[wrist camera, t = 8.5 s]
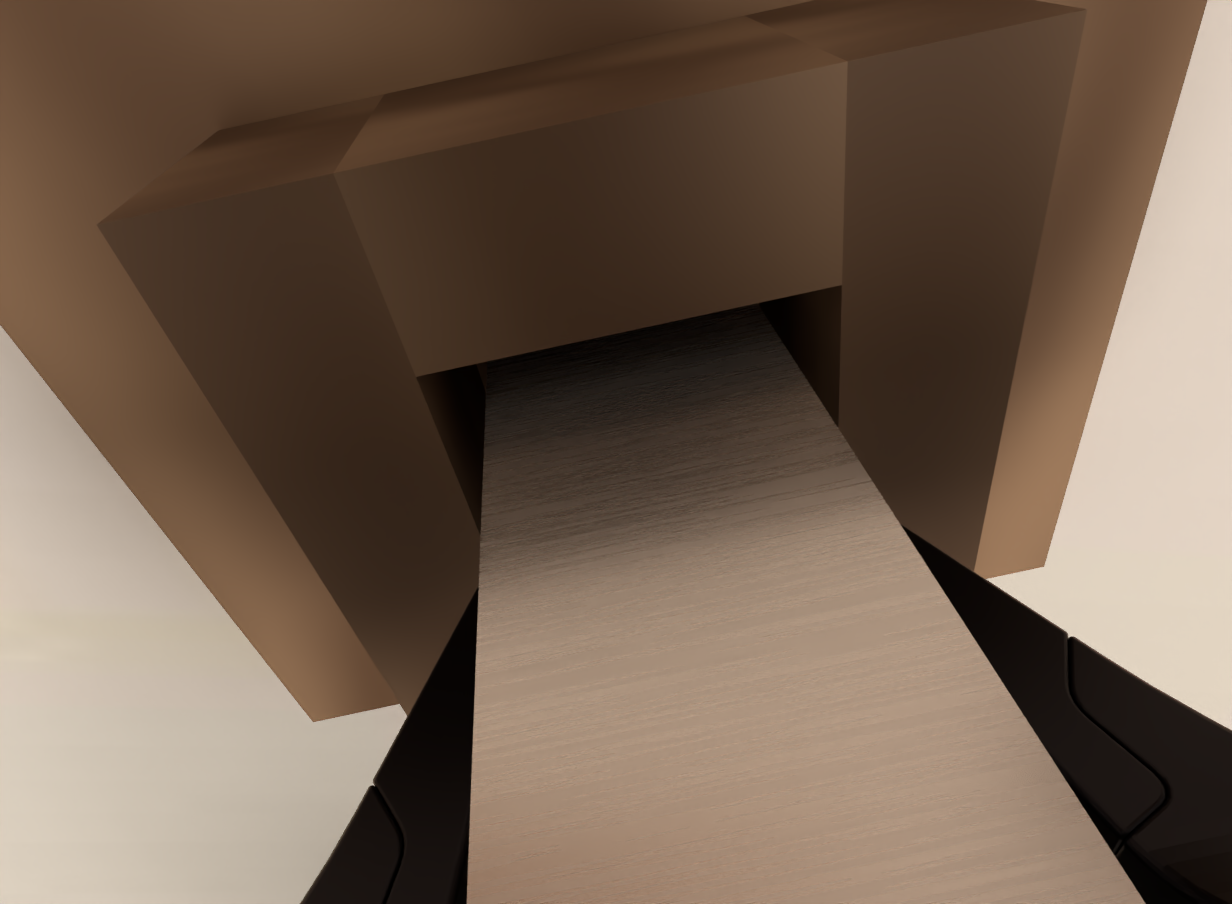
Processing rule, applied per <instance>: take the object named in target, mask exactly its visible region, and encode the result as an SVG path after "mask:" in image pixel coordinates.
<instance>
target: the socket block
mask: <svg viewBox="0 0 1232 904" xmlns="http://www.w3.org/2000/svg"><path fill="white" fill-rule="evenodd" d="M1206 3H1207V0H0V325H1V326H2V327H3V329H4V330H5V331H6V333H7V334H8V335H9V336H10V338H11V339H12V340H13V341H14V343H15V344H16V345H17V346H18V348H19V349H20V350H21V352H22V353H23V354H24V355H25V357H26V358H27V359H28V360H29V362H30V363H31V364H32V366H33V367H34V368H35V369H36V371H37V372H38V373H39V374H40V376H41V377H42V378H43V380H44V381H45V382H46V383H47V385H48V386H49V387H50V388H51V390H52V391H53V392H54V393H55V395H56V396H57V397H58V399H59V400H60V401H61V402H62V404H63V405H64V406H65V407H66V409H67V410H68V411H69V413H70V414H71V415H72V416H73V418H74V419H75V420H76V421H77V423H78V424H79V425H80V427H81V428H82V429H83V430H84V432H85V433H86V434H87V435H88V437H89V438H90V439H91V440H92V442H93V443H94V444H95V446H96V447H97V448H98V449H99V451H100V452H101V453H102V454H103V456H104V457H105V458H106V460H107V461H108V462H109V463H110V465H111V466H112V467H113V468H114V470H115V471H116V472H117V474H118V475H119V476H120V477H121V479H122V480H123V481H124V482H125V484H126V485H127V486H128V487H129V489H130V490H131V491H132V493H133V494H134V495H135V496H136V498H137V499H138V500H139V501H140V503H141V504H142V505H143V507H144V508H145V509H146V510H147V512H148V513H149V514H150V515H151V517H152V518H153V519H154V521H155V522H156V523H157V524H158V526H159V527H160V528H161V529H162V531H163V532H164V533H165V534H166V536H167V537H168V538H169V540H170V541H171V542H172V543H173V545H174V546H175V547H176V548H177V550H178V551H179V552H180V554H181V555H182V556H183V557H184V559H185V560H186V561H187V562H188V564H189V565H190V566H191V568H192V569H193V570H194V571H195V573H196V574H197V575H198V576H199V578H200V579H201V580H202V581H203V583H204V584H205V585H206V587H207V588H208V589H209V590H210V592H211V593H212V594H213V595H214V597H215V598H216V599H217V601H218V602H219V603H220V604H221V606H222V607H223V608H224V609H225V611H226V612H227V613H228V615H229V616H230V617H231V618H232V620H233V621H234V622H235V623H236V625H237V626H238V627H239V628H240V630H241V631H242V632H243V634H244V635H245V636H246V637H247V639H248V640H249V641H250V642H251V644H252V645H253V646H254V648H255V649H256V650H257V651H258V653H259V654H260V655H261V656H262V658H263V659H264V660H265V662H266V663H267V664H268V665H269V667H270V668H271V669H272V670H273V672H274V673H275V674H276V676H277V677H278V678H279V679H280V681H281V682H282V683H283V684H284V686H285V687H286V688H287V689H288V691H289V692H290V693H291V695H292V696H293V697H294V698H295V700H296V701H297V702H298V703H299V705H300V706H301V707H302V709H303V710H304V711H305V712H306V714H307V715H308V716H309V717H310V719H311V720H312V721H313V722H316V721H320V720H325V719H330V718H335V717H339V716H344V715H349V714H353V713H358V712H363V711H367V710H372V709H377V708H382V707H386V706H391V705H396V704H400V705H401V707H402V708H403V710H404V711H405V713H406V714H407V716H408V715H409V713H410V711H411V709H412V707H413V705H414V704H415V702H416V700H417V698H418V696H419V694H420V692H421V691H422V689H423V687H424V685H425V683H426V681H427V680H428V678H429V676H430V674H431V672H432V670H433V668H434V667H435V665H436V663H437V661H438V659H439V657H440V656H441V654H442V652H443V650H444V648H445V646H446V644H447V643H448V641H449V639H450V637H451V635H452V633H453V632H454V630H455V628H456V626H457V624H458V622H459V621H460V619H461V617H462V615H463V613H464V611H465V609H466V608H467V606H468V604H469V602H470V600H471V598H472V597H473V595H474V593H475V591H476V589H477V587H478V585H479V567H480V541H481V514H482V488H483V462H484V436H485V409H486V383H487V361H491V360H496V359H501V358H505V357H510V356H515V355H519V354H524V353H529V352H533V351H538V350H542V349H547V348H552V347H556V346H561V345H566V344H570V343H575V342H580V341H584V340H589V339H594V338H598V337H603V336H607V335H612V334H617V333H621V332H626V331H631V330H635V329H640V328H645V327H649V326H654V325H658V324H663V323H668V322H672V321H677V320H682V319H686V318H691V317H696V316H700V315H705V314H710V313H714V312H719V311H723V310H728V309H733V308H737V307H742V306H747V305H751V304H756V303H757V304H758V305H759V307H760V308H761V310H762V311H763V313H764V314H765V316H766V318H767V319H768V321H769V322H770V324H771V325H772V327H773V328H774V330H775V331H776V333H777V335H778V336H779V338H780V339H781V341H782V342H783V344H784V345H785V347H786V348H787V350H788V352H789V353H790V355H791V356H792V358H793V359H794V361H795V362H796V364H797V365H798V367H799V369H800V370H801V372H802V373H803V375H804V376H805V378H806V379H807V381H808V382H809V384H810V386H811V387H812V389H813V390H814V392H815V393H816V395H817V396H818V398H819V399H820V401H821V403H822V404H823V406H824V407H825V409H826V410H827V412H828V413H829V415H830V416H831V418H832V420H833V421H834V423H835V424H836V426H837V427H838V429H839V430H840V432H841V433H842V435H843V437H844V438H845V440H846V441H847V443H848V444H849V446H850V447H851V449H852V450H853V452H854V454H855V455H856V457H857V458H858V460H859V461H860V463H861V464H862V466H863V468H864V469H865V471H866V472H867V474H868V475H869V477H870V478H871V480H872V481H873V483H874V485H875V486H876V488H877V489H878V491H879V492H880V494H881V495H882V497H883V498H884V500H885V502H886V503H887V505H888V506H889V508H890V509H891V511H892V512H893V514H894V515H895V517H896V519H897V520H898V522H899V523H900V524H901V525H903V526H904V527H906V528H907V529H909V530H911V531H912V532H914V533H915V534H917V535H918V536H920V537H921V538H923V539H924V540H926V541H927V542H929V543H931V544H932V545H934V546H935V547H937V548H938V549H940V550H941V551H943V552H944V553H946V554H947V555H949V556H950V557H952V558H954V559H955V560H957V561H958V562H960V563H961V564H963V565H964V566H966V567H967V568H969V569H970V570H972V571H974V572H975V573H977V574H978V575H980V576H981V577H983V578H984V579H988V578H992V577H997V576H1002V575H1006V574H1011V573H1016V572H1020V571H1025V570H1030V569H1034V568H1039V567H1044V565H1045V561H1046V558H1047V554H1048V551H1049V547H1050V544H1051V540H1052V537H1053V533H1054V530H1055V526H1056V523H1057V519H1058V516H1059V513H1060V509H1061V506H1062V502H1063V499H1064V495H1065V492H1066V488H1067V485H1068V481H1069V478H1070V474H1071V471H1072V467H1073V464H1074V461H1075V457H1076V454H1077V450H1078V447H1079V443H1080V440H1081V436H1082V433H1083V429H1084V426H1085V422H1086V419H1087V416H1088V412H1089V409H1090V405H1091V402H1092V398H1093V395H1094V391H1095V388H1096V384H1097V381H1098V377H1099V374H1100V370H1101V367H1102V364H1103V360H1104V357H1105V353H1106V350H1107V346H1108V343H1109V339H1110V336H1111V332H1112V329H1113V325H1114V322H1115V318H1116V315H1117V312H1118V308H1119V305H1120V301H1121V298H1122V294H1123V291H1124V287H1125V284H1126V280H1127V277H1128V273H1129V270H1130V267H1131V263H1132V260H1133V256H1134V253H1135V249H1136V246H1137V242H1138V239H1139V235H1140V232H1141V228H1142V225H1143V221H1144V218H1145V215H1146V211H1147V208H1148V204H1149V201H1150V197H1151V194H1152V190H1153V187H1154V183H1155V180H1156V176H1157V173H1158V170H1159V166H1160V163H1161V159H1162V156H1163V152H1164V149H1165V145H1166V142H1167V138H1168V135H1169V131H1170V128H1171V124H1172V121H1173V118H1174V114H1175V111H1176V107H1177V104H1178V100H1179V97H1180V93H1181V90H1182V86H1183V83H1184V79H1185V76H1186V72H1187V69H1188V66H1189V62H1190V59H1191V55H1192V52H1193V48H1194V45H1195V41H1196V38H1197V34H1198V31H1199V27H1200V24H1201V21H1202V17H1203V14H1204V10H1205V7H1206Z"/></svg>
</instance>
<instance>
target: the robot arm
mask: <svg viewBox="0 0 1232 904" xmlns="http://www.w3.org/2000/svg"><path fill="white" fill-rule="evenodd" d="M900 525H901V524H900ZM901 526H902V528H903V529H904V531H905V532H906V534H907V536H908V537H909V539H910V540H911V542H912V543H913V545H914V546H915V548H916V549H917V551H918V553H919V554H920V556H921V557H922V559H923V560H924V562H925V563H926V565H927V566H928V568H929V570H930V571H931V573H932V574H933V576H934V577H935V579H936V580H937V582H938V583H939V585H940V587H941V588H942V590H943V591H944V593H945V594H946V596H947V597H948V599H949V600H950V602H951V604H952V605H953V607H954V608H955V610H956V611H957V613H958V614H959V616H960V617H961V619H962V621H963V622H964V624H965V625H966V627H967V628H968V630H969V631H970V633H971V634H972V636H973V638H974V639H975V641H976V642H977V644H978V645H979V647H980V648H981V650H982V651H983V653H984V655H985V656H986V658H987V659H988V661H989V662H990V664H991V665H992V667H993V668H994V670H995V672H996V673H997V675H998V676H999V678H1000V679H1001V681H1002V682H1003V684H1004V685H1005V687H1006V689H1007V690H1008V692H1009V693H1010V695H1011V696H1012V698H1013V699H1014V701H1015V703H1016V704H1017V706H1018V707H1019V709H1020V710H1021V712H1022V713H1023V715H1024V716H1025V718H1026V720H1027V721H1028V723H1029V724H1030V726H1031V727H1032V729H1033V730H1034V732H1035V733H1036V735H1037V737H1038V738H1039V740H1040V741H1041V743H1042V744H1043V746H1044V747H1045V749H1046V750H1047V752H1048V754H1049V755H1050V757H1051V758H1052V760H1053V761H1054V763H1055V764H1056V766H1057V767H1058V769H1059V771H1060V772H1061V774H1062V775H1063V777H1064V778H1065V780H1066V781H1067V783H1068V784H1069V786H1070V788H1071V789H1072V791H1073V792H1074V794H1075V795H1076V797H1077V798H1078V800H1079V801H1080V803H1081V805H1082V806H1083V808H1084V809H1085V811H1086V812H1087V814H1088V815H1089V817H1090V818H1091V820H1092V822H1093V823H1094V825H1095V826H1096V828H1097V829H1098V831H1099V832H1100V834H1101V835H1102V837H1103V839H1104V840H1105V842H1106V843H1107V845H1108V846H1109V848H1110V849H1111V851H1112V852H1113V854H1114V856H1115V857H1116V859H1117V860H1118V862H1119V863H1120V865H1121V866H1122V868H1123V869H1124V871H1125V873H1126V874H1127V876H1128V877H1129V879H1130V880H1131V882H1132V883H1133V885H1134V886H1135V888H1136V890H1137V891H1138V893H1139V894H1140V896H1141V897H1142V899H1143V900H1144V902H1145V903H1146V904H1232V730H1230V729H1228V728H1226V727H1224V726H1223V725H1221V724H1219V723H1217V722H1215V721H1213V720H1212V719H1210V718H1208V717H1206V716H1204V715H1203V714H1201V713H1199V712H1197V711H1196V710H1194V709H1192V708H1190V707H1189V706H1187V705H1185V704H1183V703H1181V702H1180V701H1178V700H1176V699H1174V698H1173V697H1171V696H1169V695H1167V694H1166V693H1164V692H1162V691H1160V690H1159V689H1157V688H1155V687H1153V686H1152V685H1150V684H1148V683H1147V682H1145V681H1143V680H1142V679H1140V678H1139V677H1137V676H1135V675H1134V674H1132V673H1131V672H1129V671H1127V670H1126V669H1124V668H1122V667H1121V666H1119V665H1118V664H1116V663H1114V662H1113V661H1111V660H1110V659H1108V658H1106V657H1105V656H1103V655H1102V654H1100V653H1099V652H1097V651H1095V650H1094V649H1092V648H1091V647H1089V646H1088V645H1086V644H1085V643H1083V642H1082V641H1080V640H1079V639H1077V638H1075V637H1069V638H1068V633H1067V632H1066V631H1064V630H1063V629H1061V628H1060V627H1058V626H1057V625H1055V624H1054V623H1052V622H1050V621H1049V620H1047V619H1046V618H1044V617H1043V616H1041V615H1040V614H1038V613H1037V612H1035V611H1034V610H1032V609H1030V608H1029V607H1027V606H1026V605H1024V604H1023V603H1021V602H1020V601H1018V600H1017V599H1015V598H1014V597H1012V596H1010V595H1009V594H1007V593H1006V592H1004V591H1003V590H1001V589H1000V588H998V587H997V586H995V585H994V584H992V583H990V582H989V581H987V580H986V579H984V578H983V577H981V576H980V575H978V574H977V573H975V572H974V571H972V570H970V569H969V568H967V567H966V566H964V565H963V564H961V563H960V562H958V561H957V560H955V559H954V558H952V557H950V556H949V555H947V554H946V553H944V552H943V551H941V550H940V549H938V548H937V547H935V546H934V545H932V544H931V543H929V542H927V541H926V540H924V539H923V538H921V537H920V536H918V535H917V534H915V533H914V532H912V531H911V530H909V529H907V528H906V527H904V526H903V525H901ZM478 593H479V585H478V587H477V589H476V591H475V593H474V595H473V597H472V598H471V600H470V602H469V604H468V606H467V608H466V609H465V611H464V613H463V615H462V617H461V619H460V621H459V622H458V624H457V626H456V628H455V630H454V632H453V633H452V635H451V637H450V639H449V641H448V643H447V644H446V646H445V648H444V650H443V652H442V654H441V656H440V657H439V659H438V661H437V663H436V665H435V667H434V668H433V670H432V672H431V674H430V676H429V678H428V680H427V681H426V683H425V685H424V687H423V689H422V691H421V692H420V694H419V696H418V698H417V700H416V702H415V704H414V705H413V707H412V709H411V711H410V713H409V715H408V716H407V718H406V720H405V722H404V724H403V726H402V728H401V729H400V731H399V733H398V735H397V737H396V739H395V740H394V742H393V744H392V746H391V748H390V750H389V751H388V753H387V755H386V757H385V759H384V761H383V763H382V764H381V766H380V768H379V770H378V772H377V774H376V775H375V777H374V779H373V783H374V785H375V786H370V787H369V788H368V790H367V791H366V793H365V795H364V797H363V799H362V801H361V803H360V804H359V806H358V808H357V810H356V812H355V814H354V815H353V817H352V819H351V821H350V822H349V824H348V826H347V828H346V829H345V831H344V833H343V835H342V836H341V838H340V840H339V842H338V843H337V845H336V847H335V849H334V850H333V852H332V854H331V856H330V857H329V859H328V861H327V862H326V864H325V865H324V867H323V869H322V870H321V872H320V873H319V875H318V876H317V878H316V880H315V881H314V883H313V884H312V886H311V887H310V889H309V891H308V892H307V894H306V895H305V897H304V899H303V900H302V902H301V903H300V904H467V882H468V856H469V829H470V803H471V777H472V751H473V724H474V698H475V672H476V646H477V619H478Z"/></svg>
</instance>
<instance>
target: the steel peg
mask: <svg viewBox="0 0 1232 904" xmlns="http://www.w3.org/2000/svg"><path fill="white" fill-rule="evenodd" d="M467 904H1146V903H1145V902H1144V900H1143V899H1142V897H1141V896H1140V894H1139V893H1138V891H1137V890H1136V888H1135V886H1134V885H1133V883H1132V882H1131V880H1130V879H1129V877H1128V876H1127V874H1126V873H1125V871H1124V869H1123V868H1122V866H1121V865H1120V863H1119V862H1118V860H1117V859H1116V857H1115V856H1114V854H1113V852H1112V851H1111V849H1110V848H1109V846H1108V845H1107V843H1106V842H1105V840H1104V839H1103V837H1102V835H1101V834H1100V832H1099V831H1098V829H1097V828H1096V826H1095V825H1094V823H1093V822H1092V820H1091V818H1090V817H1089V815H1088V814H1087V812H1086V811H1085V809H1084V808H1083V806H1082V805H1081V803H1080V801H1079V800H1078V798H1077V797H1076V795H1075V794H1074V792H1073V791H1072V789H1071V788H1070V786H1069V784H1068V783H1067V781H1066V780H1065V778H1064V777H1063V775H1062V774H1061V772H1060V771H1059V769H1058V767H1057V766H1056V764H1055V763H1054V761H1053V760H1052V758H1051V757H1050V755H1049V754H1048V752H1047V750H1046V749H1045V747H1044V746H1043V744H1042V743H1041V741H1040V740H1039V738H1038V737H1037V735H1036V733H1035V732H1034V730H1033V729H1032V727H1031V726H1030V724H1029V723H1028V721H1027V720H1026V718H1025V716H1024V715H1023V713H1022V712H1021V710H1020V709H1019V707H1018V706H1017V704H1016V703H1015V701H1014V699H1013V698H1012V696H1011V695H1010V693H1009V692H1008V690H1007V689H1006V687H1005V685H1004V684H1003V682H1002V681H1001V679H1000V678H999V676H998V675H997V673H996V672H995V670H994V668H993V667H992V665H991V664H990V662H989V661H988V659H987V658H986V656H985V655H984V653H983V651H982V650H981V648H980V647H979V645H978V644H977V642H976V641H975V639H974V638H973V636H972V634H971V633H970V631H969V630H968V628H967V627H966V625H965V624H964V622H963V621H962V619H961V617H960V616H959V614H958V613H957V611H956V610H955V608H954V607H953V605H952V604H951V602H950V600H949V599H948V597H947V596H946V594H945V593H944V591H943V590H942V588H941V587H940V585H939V583H938V582H937V580H936V579H935V577H934V576H933V574H932V573H931V571H930V570H929V568H928V566H927V565H926V563H925V562H924V560H923V559H922V557H921V556H920V554H919V553H918V551H917V549H916V548H915V546H914V545H913V543H912V542H911V540H910V539H909V537H908V536H907V534H906V532H905V531H904V529H903V528H902V526H901V525H900V523H899V522H898V520H897V519H896V517H895V515H894V514H893V512H892V511H891V509H890V508H889V506H888V505H887V503H886V502H885V500H884V498H883V497H882V495H881V494H880V492H879V491H878V489H877V488H876V486H875V485H874V483H873V481H872V480H871V478H870V477H869V475H868V474H867V472H866V471H865V469H864V468H863V466H862V464H861V463H860V461H859V460H858V458H857V457H856V455H855V454H854V452H853V450H852V449H851V447H850V446H849V444H848V443H847V441H846V440H845V438H844V437H843V435H842V433H841V432H840V430H839V429H838V427H837V426H836V424H835V423H834V421H833V420H832V418H831V416H830V415H829V413H828V412H827V410H826V409H825V407H824V406H823V404H822V403H821V401H820V399H819V398H818V396H817V395H816V393H815V392H814V390H813V389H812V387H811V386H810V384H809V382H808V381H807V379H806V378H805V376H804V375H803V373H802V372H801V370H800V369H799V367H798V365H797V364H796V362H795V361H794V359H793V358H792V356H791V355H790V353H789V352H788V350H787V348H786V347H785V345H784V344H783V342H782V341H781V339H780V338H779V336H778V335H777V333H776V331H775V330H774V328H773V327H772V325H771V324H770V322H769V321H768V319H767V318H766V316H765V314H764V313H763V311H762V310H761V308H760V307H759V305H758V304H757V303H756V304H751V305H747V306H742V307H737V308H733V309H728V310H723V311H719V312H714V313H710V314H705V315H700V316H696V317H691V318H686V319H682V320H677V321H672V322H668V323H663V324H658V325H654V326H649V327H645V328H640V329H635V330H631V331H626V332H621V333H617V334H612V335H607V336H603V337H598V338H594V339H589V340H584V341H580V342H575V343H570V344H566V345H561V346H556V347H552V348H547V349H542V350H538V351H533V352H529V353H524V354H519V355H515V356H510V357H505V358H501V359H496V360H491V361H487V383H486V409H485V436H484V462H483V488H482V514H481V541H480V567H479V593H478V619H477V646H476V672H475V698H474V724H473V751H472V777H471V803H470V829H469V856H468V882H467Z"/></svg>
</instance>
